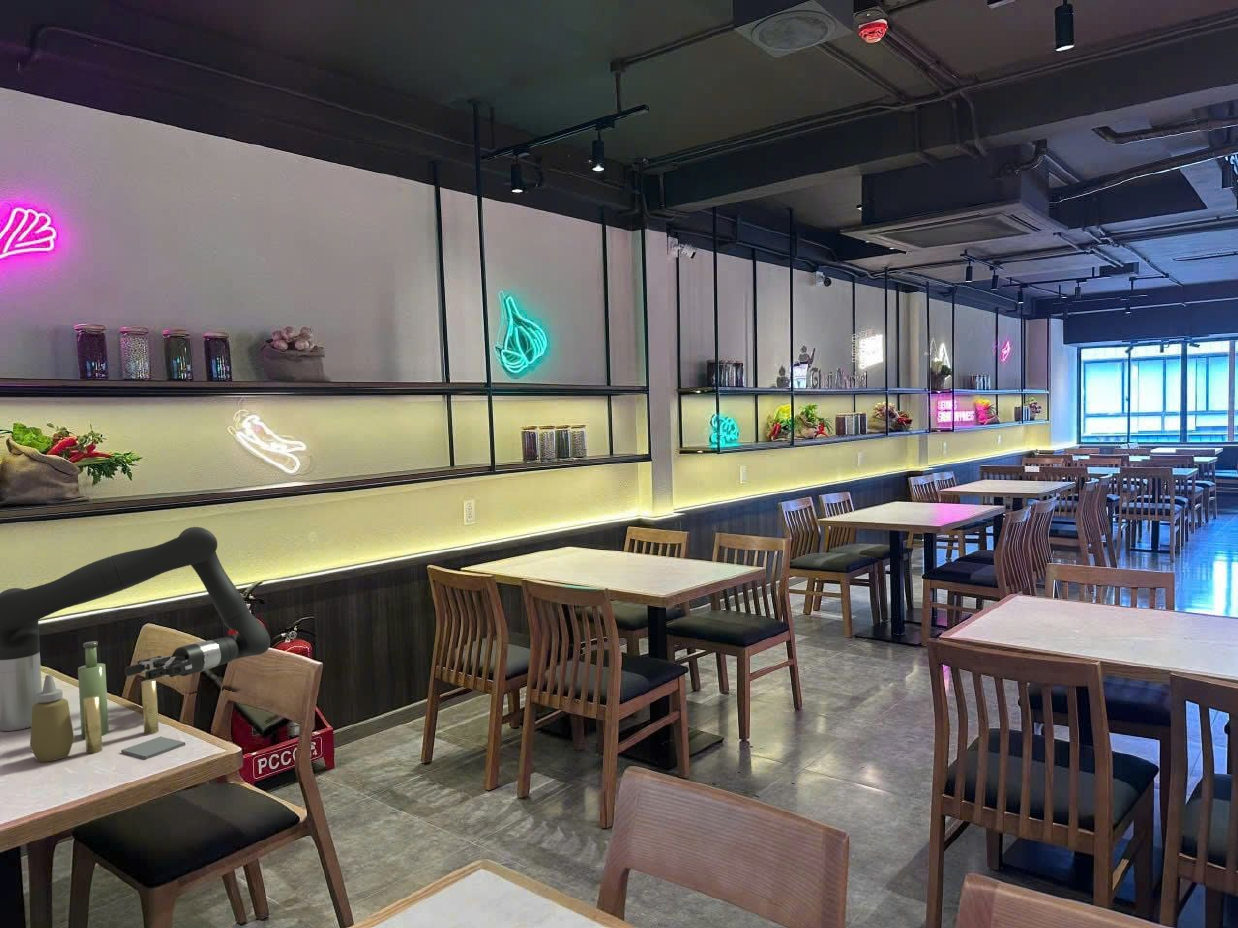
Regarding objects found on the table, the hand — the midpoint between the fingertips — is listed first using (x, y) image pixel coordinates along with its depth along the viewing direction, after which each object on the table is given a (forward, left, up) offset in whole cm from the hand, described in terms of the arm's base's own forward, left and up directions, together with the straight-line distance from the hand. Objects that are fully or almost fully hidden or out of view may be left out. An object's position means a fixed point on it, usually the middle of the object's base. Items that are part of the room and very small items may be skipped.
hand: (135, 673), depth 205 cm
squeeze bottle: (+6, -23, -12) cm, 26 cm away
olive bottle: (0, -10, -12) cm, 15 cm away
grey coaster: (+22, -10, -12) cm, 27 cm away
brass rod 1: (+11, -17, -12) cm, 23 cm away
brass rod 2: (+11, -4, -12) cm, 17 cm away
